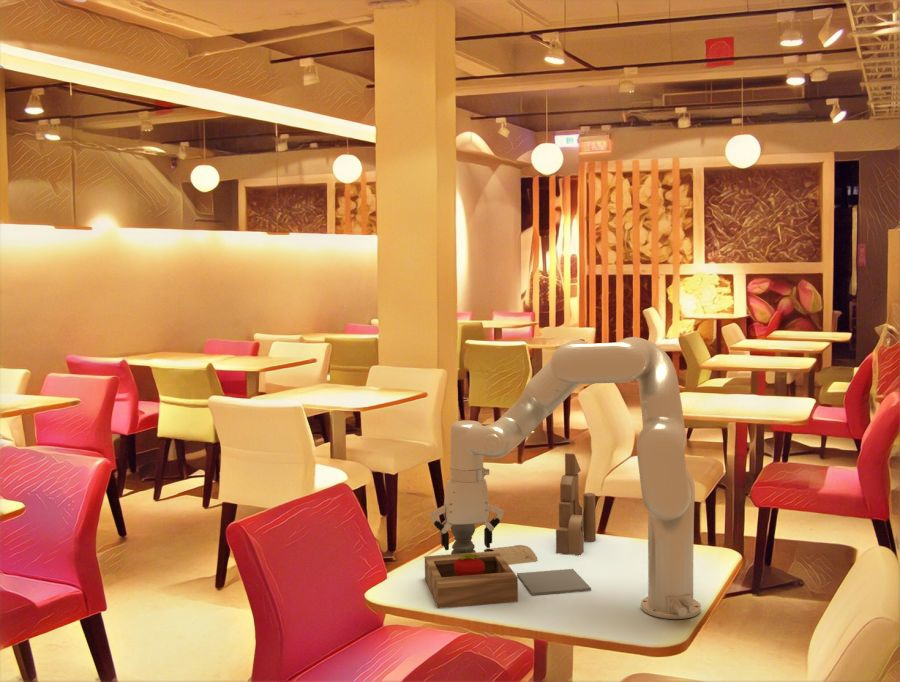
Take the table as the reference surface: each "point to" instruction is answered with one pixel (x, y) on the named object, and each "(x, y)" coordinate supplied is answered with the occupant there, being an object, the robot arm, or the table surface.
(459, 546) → the candle holder
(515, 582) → the wooden box
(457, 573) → the strawberry
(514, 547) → the clay tablet
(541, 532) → the table surface
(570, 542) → the wooden toy
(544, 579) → the mat
